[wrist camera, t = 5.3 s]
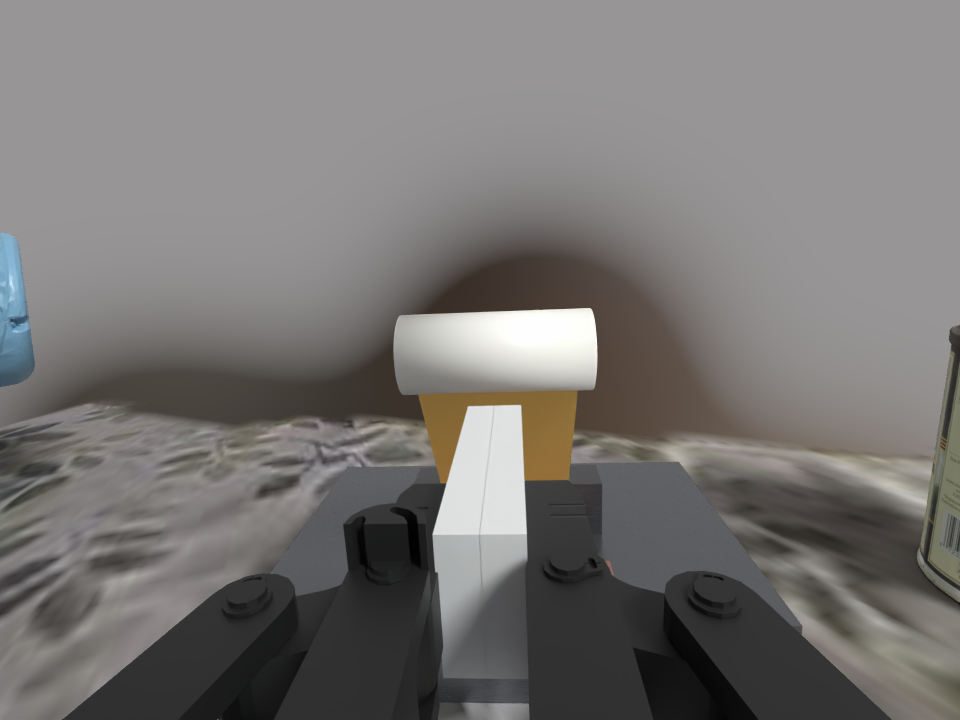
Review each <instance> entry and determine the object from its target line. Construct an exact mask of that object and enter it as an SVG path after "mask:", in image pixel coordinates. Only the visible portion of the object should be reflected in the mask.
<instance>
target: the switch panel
mask: <svg viewBox="0 0 960 720" xmlns="http://www.w3.org/2000/svg"><path fill="white" fill-rule="evenodd" d="M569 481H570V482H571V483H572V484H573V485H575V486H576V487H577V488H578V489H579V490H580V491H581V494H582V498H583V501H584V506H585V509H586V513H587V517H588V520H589V524H590V527H591V531H592V535H593V539H594V542H595V546H596V550H597V554H598V556H600V557H601V558H603V559H604V560H605V562H606V564H607V565H608V567H609V568H610V571H611V574H612V575H613V576H614V577H616V578H617V579H619V580H621V581H623V582H625V583H627V584H629V585H632V586H636V587H639V588H643V589H647V590H652V591H656V592H661V593H665V586H666V583H667V582H668V581H669V580H670V579H671V578H672V577H673V576H675V575H678V574H681V573H684V572H687V571H708V572H713V573H714V572H715V573H719V574H723V575H726V576H728V577H730V578H733V579H735V580H738V581H740V582H742V583H743V584H745V585H746V586H748V587H749V588H750V589H752V590H753V591H755V592H756V593H757V594H758V595H759V596H760V597H761V598H762V599H764V600H765V601H766V602H767V603H768V604H769V605H770V606H771V607H772V608H773V609H774V610H775V611H776V612H777V613H778V614H779V615H781V616H782V617H783V618H784V619H785V620H786V621H787V622H788V623H789V624H790V625H791V626H792V627H793V628H794V629H795V630H797V631H798V632H799V633H800V634H802V625H801V624H800V622H799V621H798V620H797V618H796V617H795V616H794V614H793V613H792V612H791V610H790V609H789V608H788V606H787V605H786V604H785V602H784V601H783V600H782V598H781V597H780V596H779V594H778V593H777V592H776V590H775V589H774V588H773V586H772V585H771V584H770V582H769V581H768V580H767V578H766V577H765V576H764V574H763V573H762V572H761V570H760V569H759V568H758V567H757V565H756V564H755V563H754V561H753V560H752V559H751V557H750V556H749V555H748V553H747V552H746V551H745V549H744V548H743V547H742V545H741V544H740V543H739V541H738V540H737V539H736V537H735V536H734V535H733V533H732V532H731V531H730V529H729V528H728V527H727V525H726V524H725V523H724V521H723V520H722V519H721V517H720V516H719V515H718V513H717V512H716V511H715V509H714V508H713V507H712V505H711V504H710V503H709V501H708V500H707V499H706V497H705V496H704V495H703V493H702V492H701V491H700V489H699V488H698V487H697V485H696V484H695V483H694V481H693V480H692V479H691V477H690V476H689V475H688V473H687V472H686V471H685V469H684V468H683V467H682V465H681V464H680V463H679V462H641V463H581V464H570V472H569ZM438 483H441V482H440V478H439V474H438V470H437V466H400V467H347V469H346V470H345V472H344V473H343V474H342V476H341V477H340V478H339V480H338V481H337V482H336V484H335V485H334V487H333V488H332V489H331V491H330V492H329V493H328V495H327V496H326V497H325V499H324V500H323V502H322V503H321V504H320V506H319V507H318V508H317V510H316V511H315V512H314V514H313V515H312V517H311V518H310V519H309V521H308V522H307V523H306V525H305V526H304V527H303V529H302V530H301V532H300V533H299V534H298V536H297V537H296V538H295V540H294V541H293V542H292V544H291V545H290V547H289V548H288V549H287V551H286V552H285V553H284V555H283V556H282V558H281V559H280V560H279V562H278V563H277V564H276V566H275V567H274V568H273V570H272V571H271V573H270V574H279V575H281V576H284V577H287V578H289V579H290V581H291V582H292V584H293V585H294V587H295V594H296V596H300V595H304V594H309V593H314V592H318V591H323V590H326V589H330V588H333V587H337V586H339V585H341V584H342V582H343V580H344V578H345V576H346V574H347V572H348V563H347V554H346V546H345V537H344V529H343V524H344V523H345V522H346V521H347V520H348V519H349V517H350V516H352V515H354V514H355V513H357V512H359V511H361V510H363V509H366V508H369V507H372V506H376V505H381V504H390V503H396V502H397V499H398V497H399V495H400V494H401V493H402V492H404V491H405V490H406V489H408V488H409V487H410V486H411V485H413V484H438ZM438 691H439V702H498V703H529V679H476V678H443V670H442V657H441V663H440V669H439V674H438Z"/></svg>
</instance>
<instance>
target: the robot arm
mask: <svg viewBox="0 0 960 720" xmlns="http://www.w3.org/2000/svg"><path fill="white" fill-rule="evenodd" d="M34 367H35V361H34V353H33V346H32V338H31V330H30V323H29V315H28V308H27V301H26V294H25V286H24V279H23V272H22V264H21V257H20V249H19V244H18V242H17V240H16V238H14V237H13V236H12V235H10V234H7V233H0V387H3V386H9V385H14V384H18V383H20V382H22V381H24V380H26V379H27V378H28V377H29V376H30V375H31V374H32V372H33V371H34ZM343 529H344V537H345V546H346V554H347V563H348V572H347V574H346V576H345V578H344V580H343V582H342V584H341V585H339V586H337V587H333V588H330V589H326V590H323V591H318V592H314V593H309V594H304V595H300V596H296V594H295V587H294V585H293V584H292V582H291V581H290V579H289V578H287V577H284V576H281V575H279V574H257V575H251V576H247V577H244V578H242V579H240V580H237V581H235V582H232V583H230V584H228V585H226V586H225V587H223V588H222V589H220V590H219V591H217V592H216V593H214V594H213V595H212V596H210V597H209V598H208V599H207V600H205V601H204V602H203V603H202V604H201V605H199V606H198V607H197V608H196V609H195V610H193V611H192V612H191V613H190V614H189V615H187V616H186V617H185V618H184V619H183V620H181V621H180V622H179V623H178V624H177V625H175V626H174V627H173V628H172V629H171V630H169V631H168V632H167V633H166V634H165V635H163V636H162V637H161V638H160V639H159V640H157V641H156V642H155V643H154V644H153V645H151V646H150V647H149V648H148V649H147V650H145V651H144V652H143V653H142V654H141V655H139V656H138V657H137V658H136V659H135V660H133V661H132V662H131V663H130V664H129V665H127V666H126V667H125V668H124V669H123V670H121V671H120V672H119V673H118V674H117V675H115V676H114V677H113V678H112V679H111V680H109V681H108V682H107V683H106V684H105V685H103V686H102V687H101V688H100V689H99V690H97V691H96V692H95V693H94V694H93V695H91V696H90V697H89V698H88V699H87V700H85V701H84V702H83V703H82V704H81V705H79V706H78V707H77V708H76V709H75V710H73V711H72V712H71V713H70V714H69V715H67V716H66V717H65V718H64V719H63V720H217V719H218V718H219V720H437V719H438V712H439V706H440V705H439V691H438V674H439V669H440V663H441V657H442V670H443V678H476V679H529V712H530V720H891V719H890V718H889V717H888V716H887V715H886V714H885V713H884V712H883V711H882V710H881V709H880V708H879V707H878V706H877V705H875V704H874V703H873V702H872V701H871V700H870V699H869V698H868V697H867V696H866V695H865V694H864V693H863V692H862V691H861V690H859V689H858V688H857V687H856V686H855V685H854V684H853V683H852V682H851V681H850V680H849V679H848V678H847V677H846V676H845V675H843V674H842V673H841V672H840V671H839V670H838V669H837V668H836V667H835V666H834V665H833V664H832V663H831V662H830V661H829V660H827V659H826V658H825V657H824V656H823V655H822V654H821V653H820V652H819V651H818V650H817V649H816V648H815V647H814V646H813V645H811V644H810V643H809V642H808V641H807V640H806V639H805V638H804V637H803V636H802V635H801V634H800V633H799V632H798V631H797V630H795V629H794V628H793V627H792V626H791V625H790V624H789V623H788V622H787V621H786V620H785V619H784V618H783V617H782V616H781V615H779V614H778V613H777V612H776V611H775V610H774V609H773V608H772V607H771V606H770V605H769V604H768V603H767V602H766V601H765V600H764V599H762V598H761V597H760V596H759V595H758V594H757V593H756V592H755V591H753V590H752V589H750V588H749V587H748V586H746V585H745V584H743V583H742V582H740V581H738V580H735V579H733V578H730V577H728V576H726V575H723V574H719V573H715V572H714V573H713V572H708V571H687V572H684V573H681V574H678V575H675V576H673V577H672V578H671V579H670V580H669V581H668V582H667V583H666V586H665V593H661V592H656V591H652V590H647V589H643V588H639V587H636V586H632V585H629V584H627V583H625V582H623V581H621V580H619V579H617V578H616V577H614V576H613V575H612V574H611V571H610V568H609V567H608V565H607V564H606V562H605V560H604V559H603V558H601V557H600V556H598V554H597V550H596V546H595V542H594V539H593V535H592V531H591V527H590V524H589V520H588V517H587V513H586V509H585V506H584V501H583V498H582V494H581V491H580V490H579V489H578V488H577V487H576V486H575V485H573V484H572V483H571V482H570V481H569V480H535V481H524V460H523V438H522V415H521V405H500V406H468V408H467V412H466V416H465V419H464V423H463V427H462V430H461V434H460V437H459V441H458V445H457V448H456V452H455V455H454V459H453V463H452V466H451V470H450V473H449V477H448V481H447V483H438V484H413V485H411V486H410V487H409V488H408V489H406V490H405V491H404V492H402V493H401V494H400V495H399V497H398V499H397V502H396V503H390V504H381V505H376V506H372V507H369V508H366V509H363V510H361V511H359V512H357V513H355V514H354V515H352V516H350V517H349V519H348V520H347V521H346V522H345V523H344V524H343Z"/></svg>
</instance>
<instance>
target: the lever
mask: <svg viewBox="0 0 960 720" xmlns="http://www.w3.org/2000/svg"><path fill="white" fill-rule="evenodd" d="M394 366H395V373H396V380H397V383H398V387H399V390H400V392H401V393H402V394H403V395H415V394H418V395H419V399H420V403H421V407H422V411H423V415H424V418H425V423H426V427H427V431H428V435H429V438H430V442H431V446H432V450H433V454H434V458H435V462H436V466H437V470H438V474H439V478H440V482H441V483H447V481H448V477H449V473H450V470H451V466H452V463H453V459H454V455H455V452H456V448H457V445H458V441H459V437H460V434H461V430H462V427H463V423H464V419H465V416H466V412H467V408H468V406H500V405H521V415H522V438H523V460H524V481H535V480H569V472H570V462H571V452H572V442H573V432H574V422H575V413H576V403H577V393H578V390H593V389H594V387H595V382H596V374H597V338H596V327H595V320H594V315H593V312H592V310H591V308H582V309H557V310H531V311H503V312H478V313H453V314H452V313H450V314H424V315H400V316H399V317H398V319H397V322H396V327H395V334H394Z"/></svg>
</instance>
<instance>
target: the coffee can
mask: <svg viewBox="0 0 960 720" xmlns="http://www.w3.org/2000/svg"><path fill="white" fill-rule="evenodd" d="M949 341H950V343H951V344H952V345H951V352H950V358H949V364H948V370H947V377H946V384H945V390H944V396H943V403H942V410H941V416H940V422H939V428H938V435H937V441H936V448H935V454H934V459H933V468H932V474H931V481H930V487H929V493H928V500H927V507H926V513H925V519H924V525H923V532H922V538H921V543H920V547H919V549H918V552H917V561H918V564H919V566H920V568H921V570H922V571H923V573H924V574H925V575H926V576H927V577H928V578H929V580H930V581H931V582H932V583H933V584H934V585H935V586H937V587H938V588H939V589H941V590H942V591H943V592H945V593H946V594H947V595H949V596H950V597H952V598H953V599H954V600H956V601H957V602H959V603H960V325H958V326H955V327H952V328H951V329H950V336H949Z"/></svg>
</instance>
